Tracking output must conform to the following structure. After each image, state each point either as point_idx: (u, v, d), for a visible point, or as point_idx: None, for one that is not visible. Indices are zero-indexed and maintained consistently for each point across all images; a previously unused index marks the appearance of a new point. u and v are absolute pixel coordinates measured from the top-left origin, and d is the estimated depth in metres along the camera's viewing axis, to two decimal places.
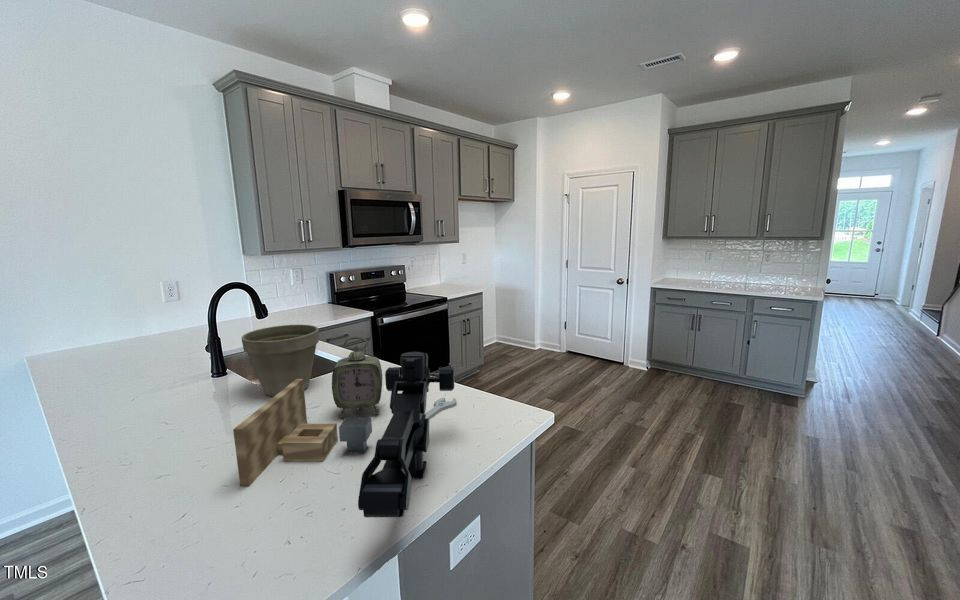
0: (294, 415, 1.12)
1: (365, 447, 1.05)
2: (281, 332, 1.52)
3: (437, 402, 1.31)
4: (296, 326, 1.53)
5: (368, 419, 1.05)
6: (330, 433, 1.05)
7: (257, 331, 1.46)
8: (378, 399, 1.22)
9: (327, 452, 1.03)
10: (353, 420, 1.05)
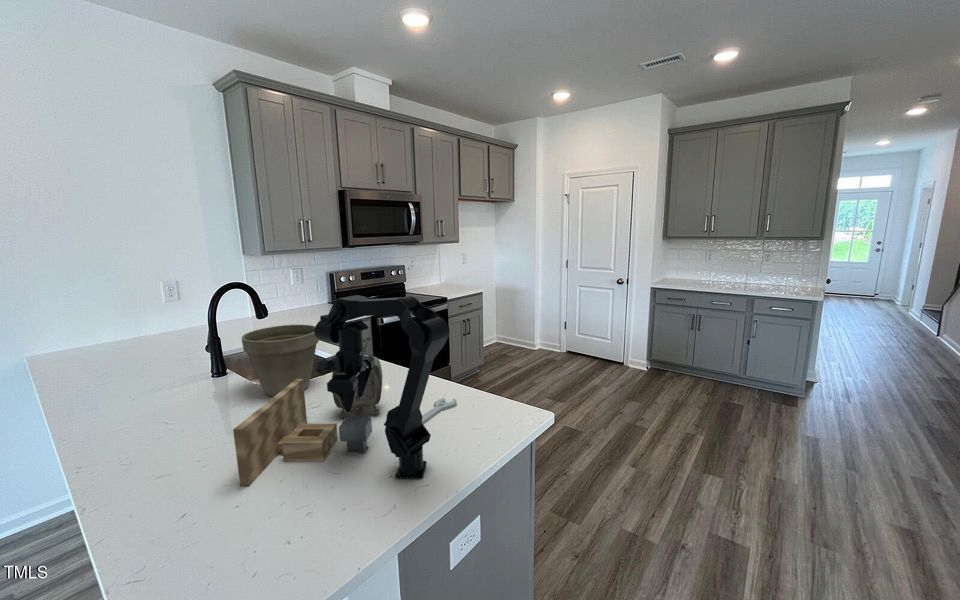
0: (294, 415, 1.12)
1: (365, 447, 1.05)
2: (281, 332, 1.52)
3: (437, 402, 1.30)
4: (296, 326, 1.53)
5: (368, 419, 1.05)
6: (330, 433, 1.05)
7: (257, 331, 1.46)
8: (378, 399, 1.22)
9: (327, 452, 1.03)
10: (353, 420, 1.05)
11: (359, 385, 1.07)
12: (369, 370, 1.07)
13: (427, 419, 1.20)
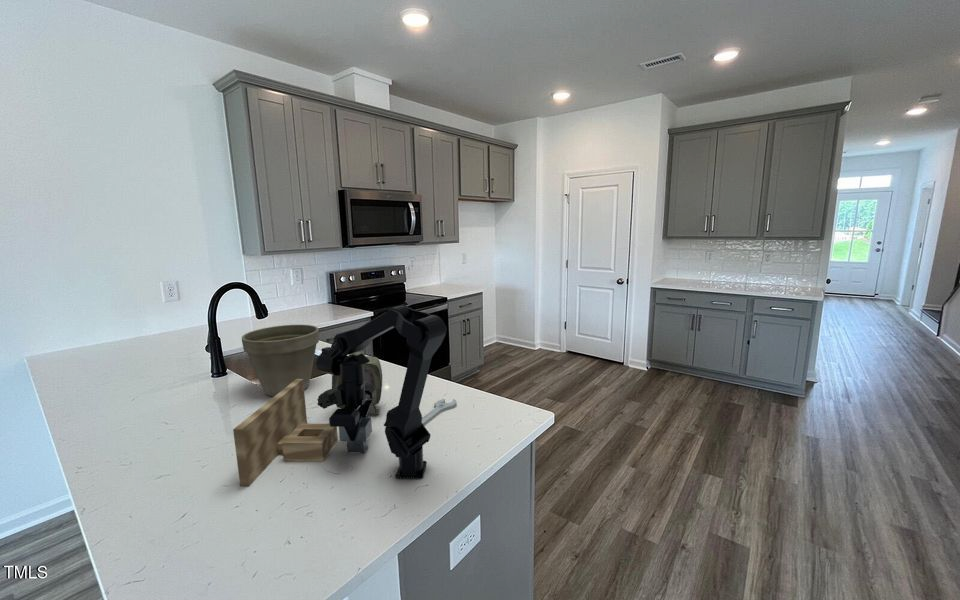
0: (294, 415, 1.12)
1: (365, 447, 1.05)
2: (281, 332, 1.52)
3: (437, 403, 1.30)
4: (296, 326, 1.53)
5: (368, 419, 1.05)
6: (330, 433, 1.05)
7: (257, 331, 1.46)
8: (378, 399, 1.22)
9: (327, 452, 1.03)
10: None
11: None
12: (368, 403, 1.07)
13: (428, 420, 1.20)
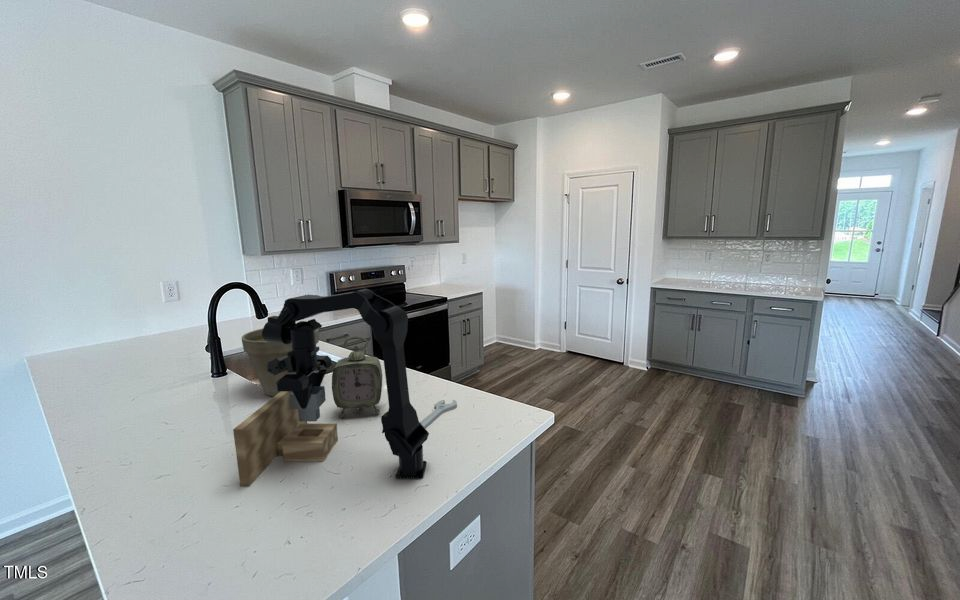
0: (294, 415, 1.12)
1: (318, 416, 1.03)
2: None
3: (437, 405, 1.29)
4: None
5: (321, 387, 1.04)
6: (330, 433, 1.05)
7: (257, 331, 1.46)
8: (378, 399, 1.22)
9: (327, 452, 1.03)
10: None
11: None
12: (321, 372, 1.05)
13: (430, 422, 1.19)
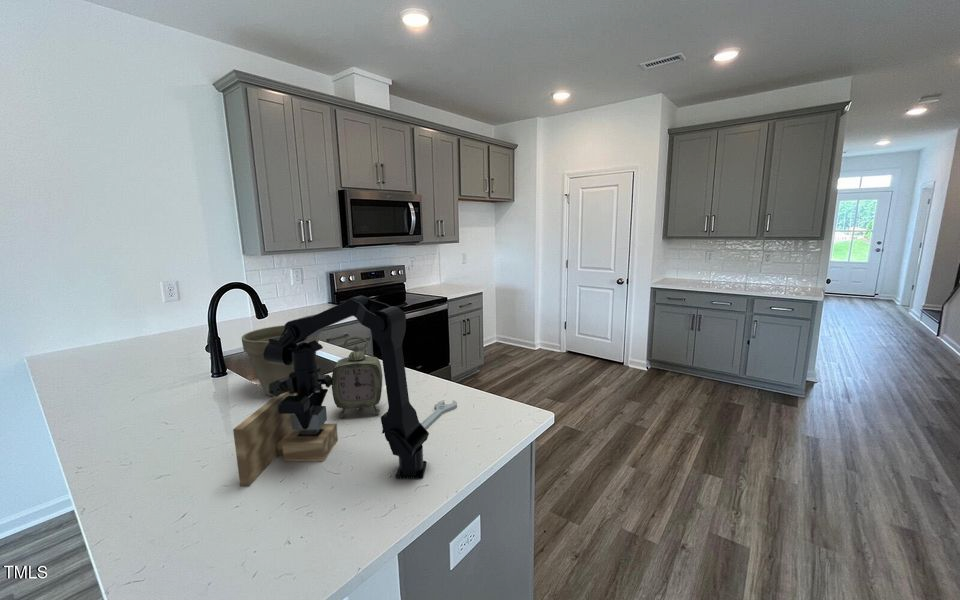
0: None
1: None
2: (281, 332, 1.52)
3: (437, 405, 1.29)
4: None
5: (322, 407, 1.04)
6: (330, 433, 1.05)
7: (257, 331, 1.46)
8: (378, 399, 1.22)
9: (327, 452, 1.03)
10: None
11: None
12: (323, 392, 1.06)
13: (431, 422, 1.18)
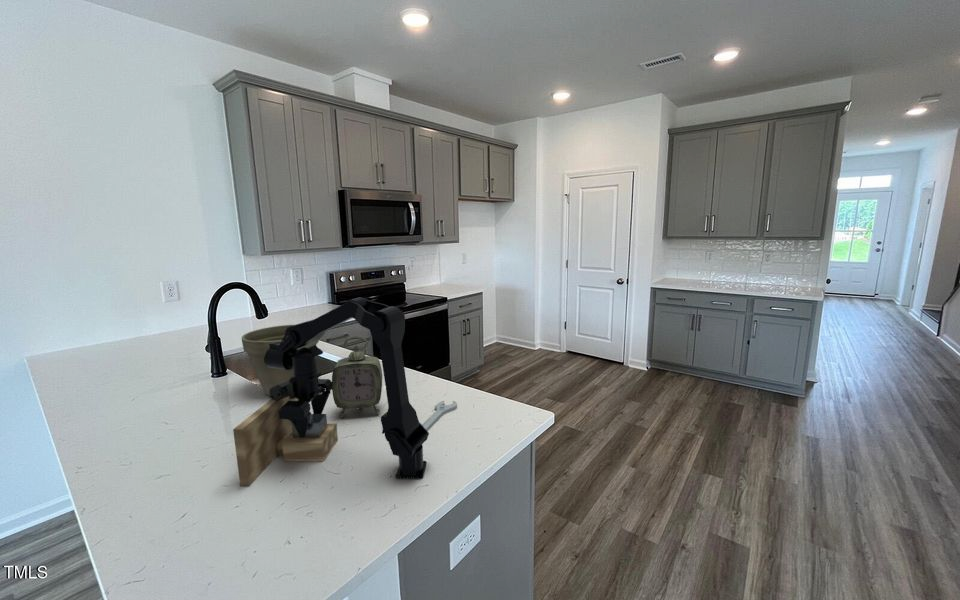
0: None
1: None
2: (281, 332, 1.52)
3: (438, 406, 1.28)
4: None
5: (323, 415, 1.05)
6: (330, 433, 1.05)
7: (257, 331, 1.46)
8: (378, 399, 1.22)
9: (327, 452, 1.03)
10: None
11: (316, 409, 1.08)
12: (325, 394, 1.08)
13: (432, 423, 1.18)
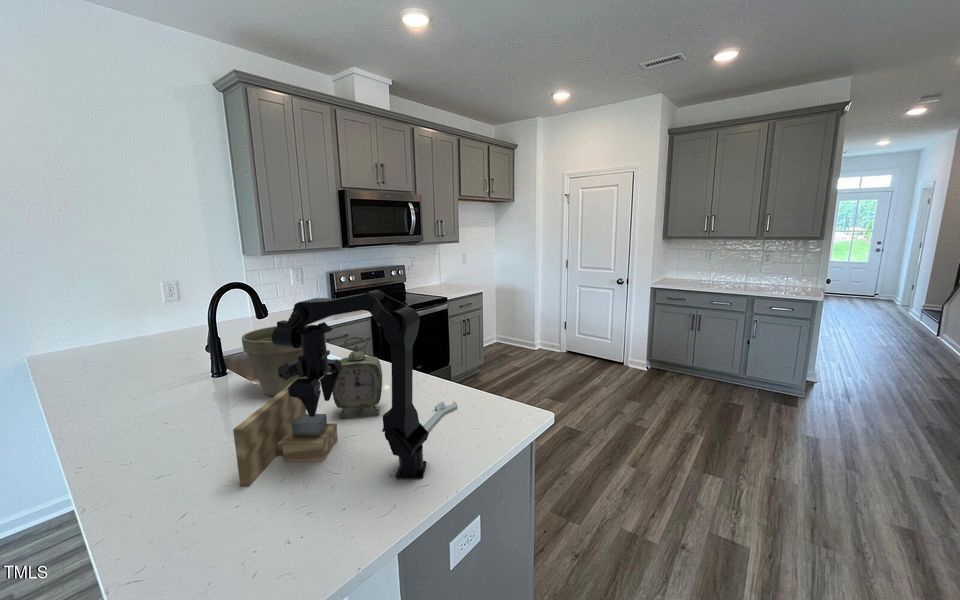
0: (294, 415, 1.12)
1: None
2: None
3: (438, 407, 1.27)
4: None
5: (323, 415, 1.05)
6: (330, 433, 1.05)
7: (257, 331, 1.46)
8: (378, 399, 1.22)
9: (327, 452, 1.03)
10: (308, 416, 1.05)
11: (325, 389, 1.06)
12: (335, 374, 1.06)
13: (434, 424, 1.17)
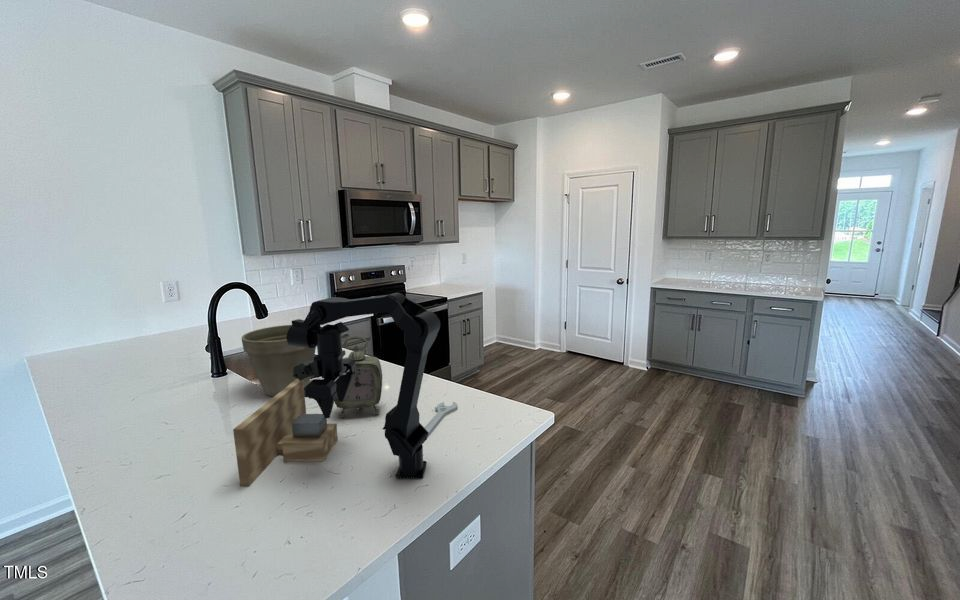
0: (294, 415, 1.12)
1: None
2: (281, 332, 1.52)
3: (438, 407, 1.27)
4: None
5: (323, 415, 1.05)
6: (330, 433, 1.05)
7: (257, 331, 1.46)
8: (378, 399, 1.22)
9: (327, 452, 1.03)
10: (308, 416, 1.05)
11: (340, 390, 1.04)
12: (349, 374, 1.04)
13: (435, 425, 1.17)
